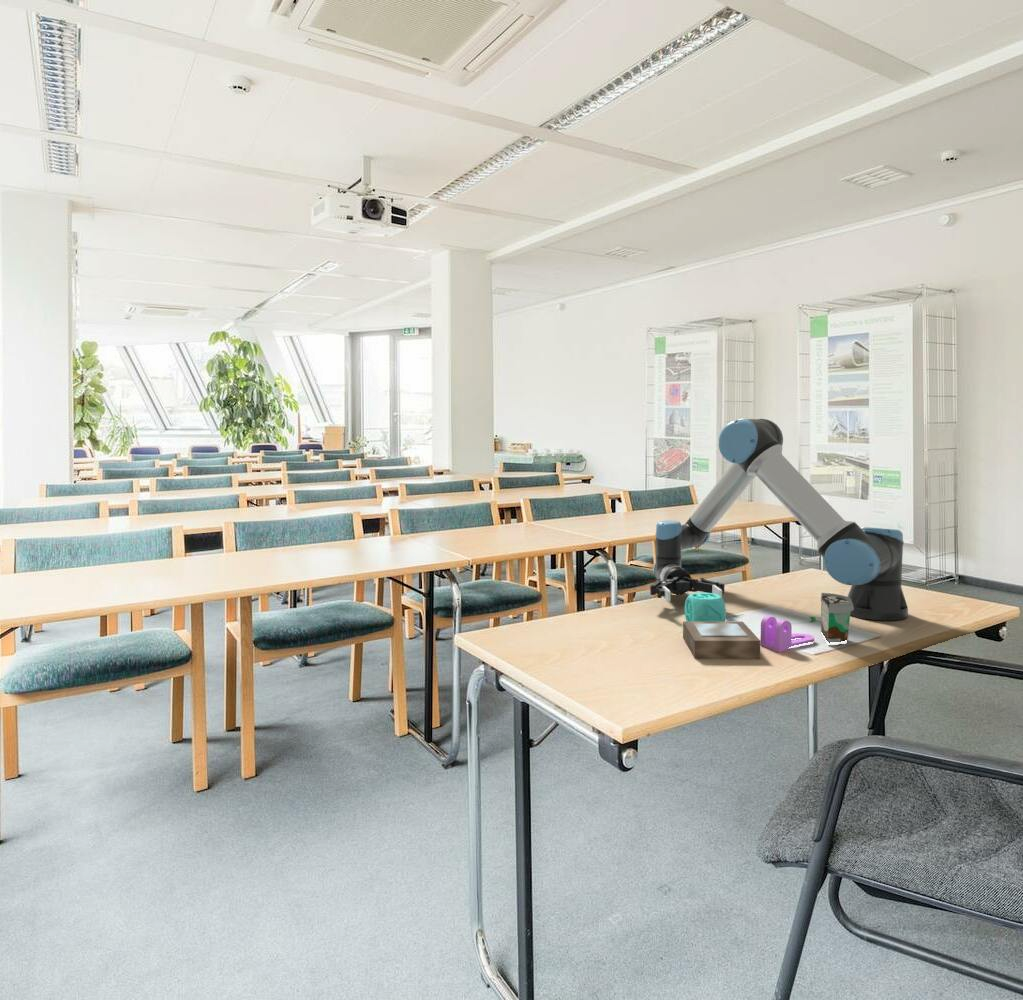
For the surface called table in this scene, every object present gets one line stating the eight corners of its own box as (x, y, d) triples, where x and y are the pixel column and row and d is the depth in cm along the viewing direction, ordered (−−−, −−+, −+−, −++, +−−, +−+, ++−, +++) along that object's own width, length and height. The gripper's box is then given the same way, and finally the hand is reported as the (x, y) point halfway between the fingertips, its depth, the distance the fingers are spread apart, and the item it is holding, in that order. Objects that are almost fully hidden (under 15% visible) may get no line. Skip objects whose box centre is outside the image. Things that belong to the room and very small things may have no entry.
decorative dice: (726, 630, 187) (726, 598, 186) (694, 632, 186) (694, 600, 185) (714, 622, 195) (714, 591, 194) (684, 623, 194) (684, 593, 193)
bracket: (779, 652, 169) (780, 621, 168) (760, 646, 174) (760, 616, 173) (819, 643, 175) (820, 614, 174) (799, 637, 180) (800, 609, 179)
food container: (857, 649, 170) (859, 605, 169) (828, 647, 172) (829, 604, 171) (847, 634, 182) (848, 593, 181) (820, 632, 184) (821, 592, 183)
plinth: (742, 638, 180) (742, 620, 180) (760, 658, 164) (760, 639, 164) (682, 637, 181) (683, 620, 181) (694, 658, 165) (694, 639, 165)
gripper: (718, 591, 220) (741, 608, 199) (633, 592, 220) (647, 610, 199) (718, 565, 220) (742, 580, 198) (633, 567, 219) (647, 582, 198)
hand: (694, 595), depth 199 cm, fingers open, 13 cm apart
